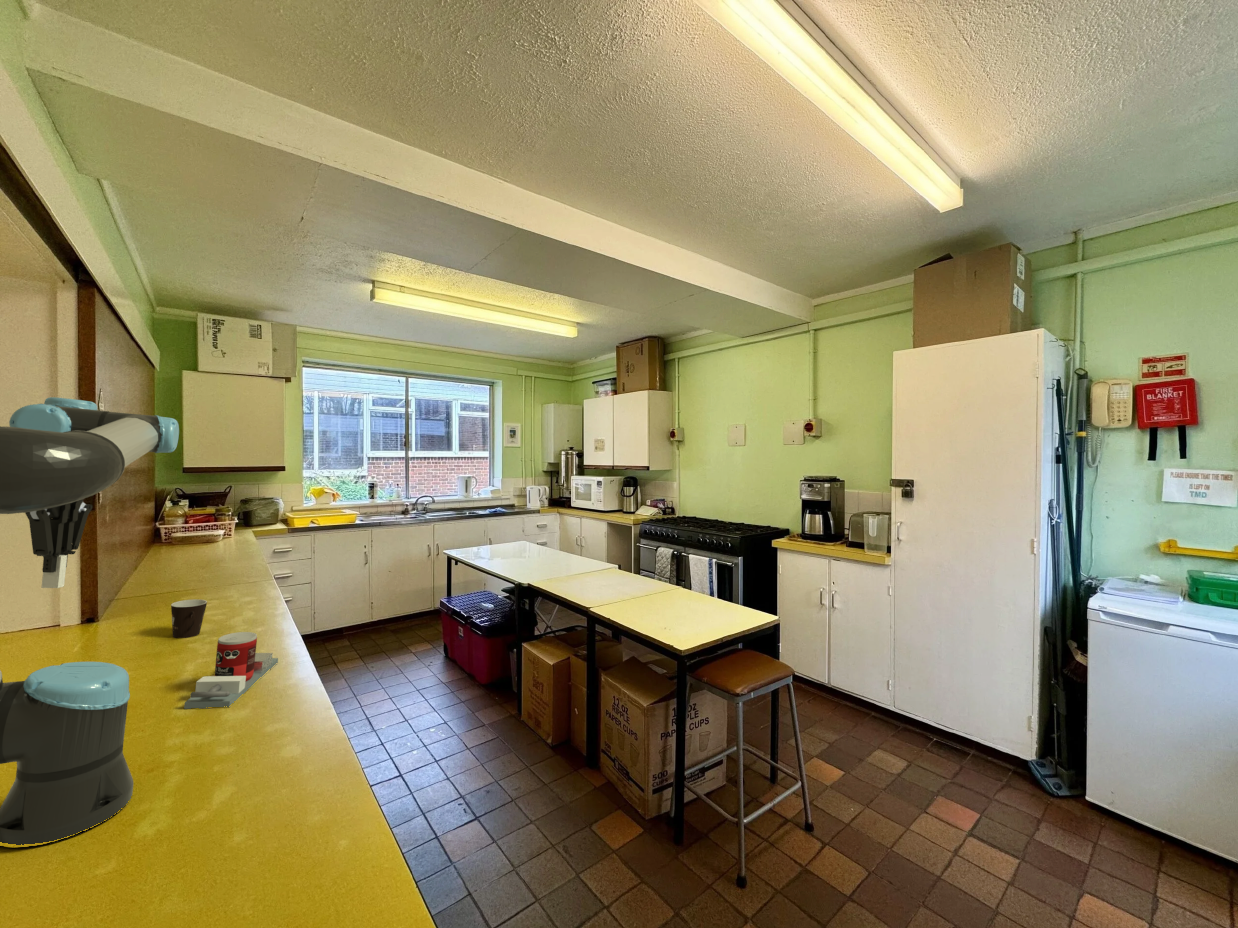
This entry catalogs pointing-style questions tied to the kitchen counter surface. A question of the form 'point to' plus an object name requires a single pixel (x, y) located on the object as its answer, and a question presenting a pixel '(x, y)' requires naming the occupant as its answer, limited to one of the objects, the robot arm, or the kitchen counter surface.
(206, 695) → the vise base
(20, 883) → the kitchen counter surface
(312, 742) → the kitchen counter surface
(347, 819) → the kitchen counter surface
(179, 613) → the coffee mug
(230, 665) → the canned food
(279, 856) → the kitchen counter surface
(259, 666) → the block
